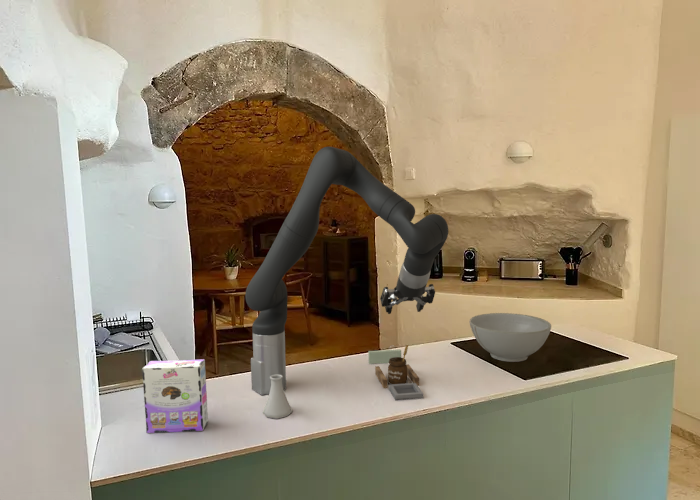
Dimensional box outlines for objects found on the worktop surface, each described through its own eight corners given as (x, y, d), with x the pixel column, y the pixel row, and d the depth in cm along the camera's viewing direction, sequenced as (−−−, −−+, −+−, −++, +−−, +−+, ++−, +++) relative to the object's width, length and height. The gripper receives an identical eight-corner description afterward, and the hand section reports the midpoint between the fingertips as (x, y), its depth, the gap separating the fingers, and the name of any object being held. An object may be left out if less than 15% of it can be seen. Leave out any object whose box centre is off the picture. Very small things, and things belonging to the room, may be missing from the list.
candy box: (209, 421, 128) (206, 358, 126) (203, 432, 122) (199, 366, 121) (153, 422, 128) (150, 359, 126) (145, 433, 122) (141, 367, 120)
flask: (278, 405, 137) (277, 369, 136) (297, 412, 133) (296, 375, 132) (257, 414, 132) (256, 377, 131) (276, 422, 127) (275, 383, 126)
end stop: (401, 362, 171) (401, 350, 170) (369, 364, 169) (369, 352, 169) (400, 360, 172) (400, 349, 172) (368, 362, 171) (368, 351, 170)
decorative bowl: (453, 355, 177) (453, 321, 176) (497, 340, 194) (498, 309, 193) (522, 375, 157) (523, 337, 155) (565, 356, 174) (566, 322, 172)
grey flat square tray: (423, 398, 141) (423, 393, 140) (395, 400, 139) (395, 395, 139) (415, 387, 148) (415, 382, 148) (388, 389, 147) (388, 384, 147)
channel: (419, 385, 150) (419, 377, 149) (383, 388, 148) (383, 380, 148) (408, 371, 161) (408, 364, 161) (375, 374, 160) (375, 366, 160)
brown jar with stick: (393, 377, 157) (393, 339, 156) (411, 381, 153) (411, 342, 152) (384, 383, 152) (383, 344, 151) (402, 387, 149) (402, 347, 147)
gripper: (437, 263, 133) (424, 297, 146) (384, 265, 131) (376, 300, 144) (444, 286, 129) (430, 320, 141) (389, 289, 127) (380, 323, 139)
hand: (403, 310), depth 142 cm, fingers open, 8 cm apart
